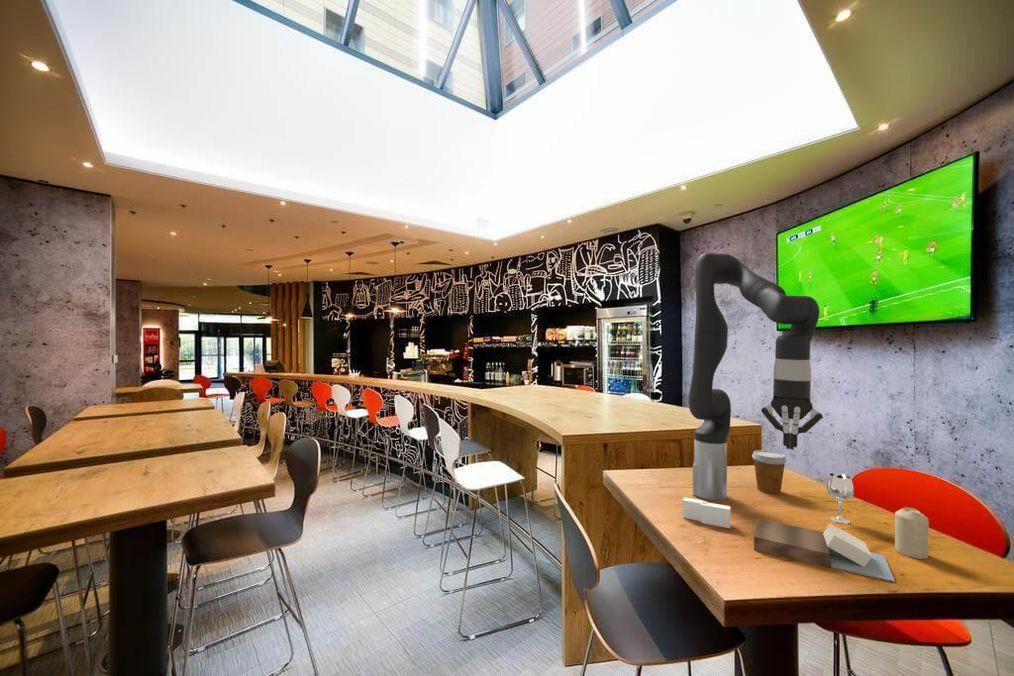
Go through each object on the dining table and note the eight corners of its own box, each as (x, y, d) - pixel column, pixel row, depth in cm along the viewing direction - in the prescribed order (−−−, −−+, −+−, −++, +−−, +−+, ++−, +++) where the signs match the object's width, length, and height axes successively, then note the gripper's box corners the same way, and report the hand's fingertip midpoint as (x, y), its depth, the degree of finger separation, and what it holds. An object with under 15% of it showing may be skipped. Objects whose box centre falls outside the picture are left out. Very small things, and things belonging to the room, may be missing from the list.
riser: (754, 549, 98) (754, 536, 98) (757, 530, 108) (757, 518, 108) (829, 567, 90) (829, 553, 90) (825, 545, 100) (826, 532, 100)
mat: (831, 567, 91) (831, 565, 91) (827, 544, 101) (827, 543, 101) (894, 582, 85) (894, 580, 85) (884, 557, 95) (884, 555, 95)
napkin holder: (744, 529, 110) (744, 507, 110) (713, 537, 105) (712, 514, 105) (697, 508, 123) (697, 488, 123) (668, 514, 119) (668, 494, 119)
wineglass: (858, 525, 111) (858, 480, 111) (833, 523, 112) (833, 478, 112) (845, 516, 116) (845, 473, 116) (822, 515, 118) (822, 472, 118)
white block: (827, 546, 93) (834, 535, 93) (822, 533, 99) (829, 523, 99) (864, 567, 90) (872, 556, 89) (857, 553, 96) (864, 542, 95)
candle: (932, 562, 93) (932, 516, 93) (898, 555, 96) (898, 511, 96) (924, 551, 98) (924, 508, 98) (892, 545, 101) (892, 503, 101)
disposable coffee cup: (786, 489, 138) (786, 452, 138) (786, 498, 130) (786, 459, 130) (752, 484, 143) (752, 448, 143) (751, 492, 135) (751, 455, 135)
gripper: (758, 377, 103) (757, 447, 104) (826, 381, 96) (824, 457, 96) (761, 374, 110) (760, 440, 110) (825, 378, 102) (823, 449, 102)
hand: (790, 448), depth 103 cm, fingers closed
